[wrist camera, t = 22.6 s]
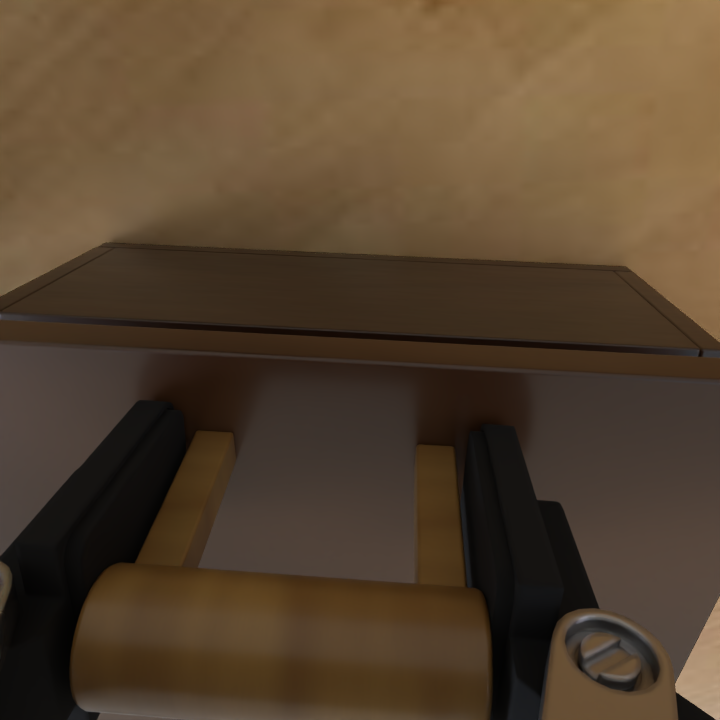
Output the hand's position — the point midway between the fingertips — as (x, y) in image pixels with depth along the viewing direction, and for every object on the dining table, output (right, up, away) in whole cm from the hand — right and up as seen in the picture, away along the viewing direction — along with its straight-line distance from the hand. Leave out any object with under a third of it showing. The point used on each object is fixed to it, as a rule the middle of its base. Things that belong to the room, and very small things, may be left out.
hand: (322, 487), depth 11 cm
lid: (0, -3, +3) cm, 5 cm away
